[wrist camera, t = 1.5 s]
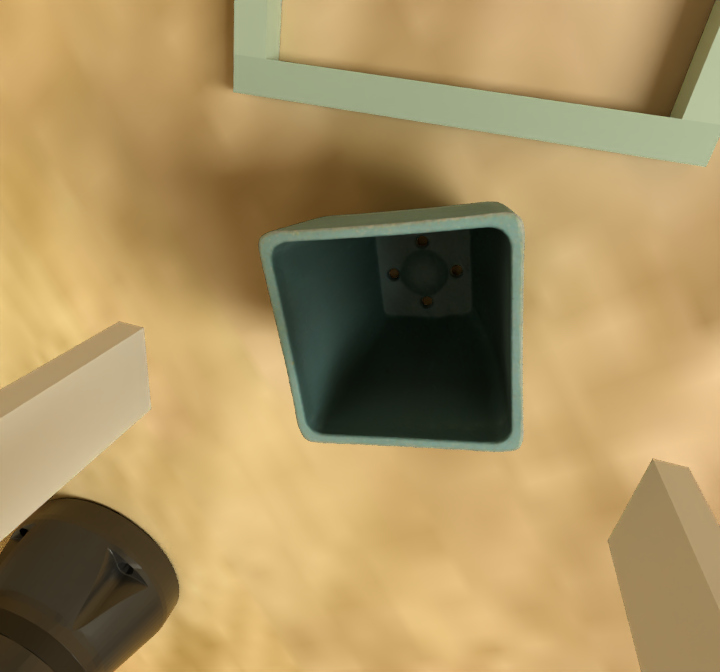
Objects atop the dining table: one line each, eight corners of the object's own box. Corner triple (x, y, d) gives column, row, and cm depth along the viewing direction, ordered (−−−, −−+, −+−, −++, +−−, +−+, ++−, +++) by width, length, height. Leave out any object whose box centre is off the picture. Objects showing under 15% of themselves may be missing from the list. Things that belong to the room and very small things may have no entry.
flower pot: (354, 349, 28) (299, 445, 20) (330, 193, 24) (252, 233, 16) (513, 346, 25) (523, 455, 17) (512, 172, 22) (525, 209, 14)
